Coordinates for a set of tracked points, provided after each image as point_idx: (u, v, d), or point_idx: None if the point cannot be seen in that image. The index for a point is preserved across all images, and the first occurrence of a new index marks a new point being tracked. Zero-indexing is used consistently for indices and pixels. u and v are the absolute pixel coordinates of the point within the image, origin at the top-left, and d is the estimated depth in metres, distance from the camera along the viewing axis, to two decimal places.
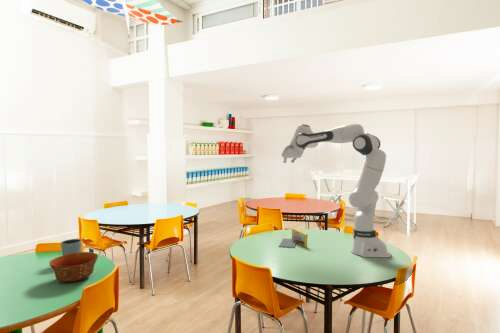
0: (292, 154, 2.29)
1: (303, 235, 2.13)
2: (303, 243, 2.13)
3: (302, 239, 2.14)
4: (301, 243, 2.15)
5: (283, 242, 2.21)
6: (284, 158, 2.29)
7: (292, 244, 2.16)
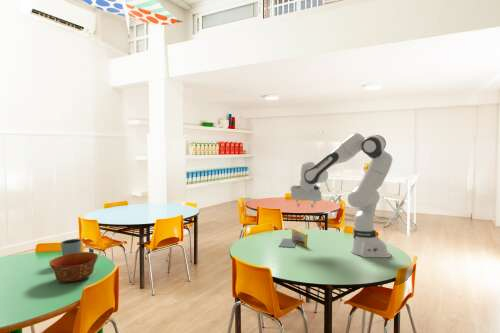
0: (302, 195, 2.16)
1: (303, 235, 2.13)
2: (303, 243, 2.13)
3: (302, 239, 2.14)
4: (301, 243, 2.15)
5: (283, 242, 2.21)
6: (296, 201, 2.19)
7: (292, 244, 2.16)
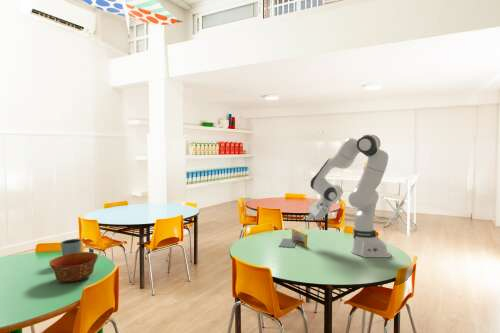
0: (313, 208, 2.18)
1: (303, 235, 2.13)
2: (303, 243, 2.13)
3: (302, 239, 2.14)
4: (301, 243, 2.15)
5: (283, 242, 2.21)
6: (310, 215, 2.19)
7: (292, 244, 2.16)
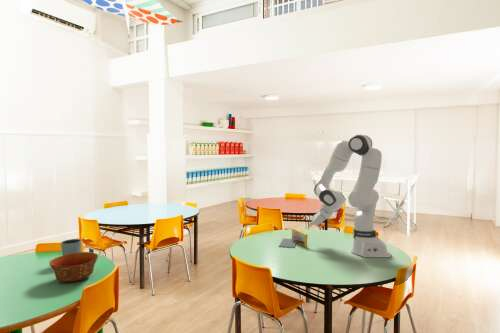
0: (316, 215, 2.18)
1: (303, 235, 2.13)
2: (303, 243, 2.13)
3: (302, 239, 2.14)
4: (301, 243, 2.15)
5: (283, 242, 2.21)
6: None
7: (292, 244, 2.16)
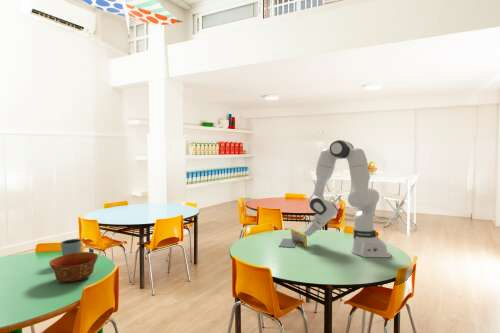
0: (309, 225, 2.19)
1: (302, 235, 2.12)
2: (303, 243, 2.13)
3: (301, 239, 2.13)
4: (301, 243, 2.15)
5: (283, 242, 2.21)
6: None
7: (292, 244, 2.16)
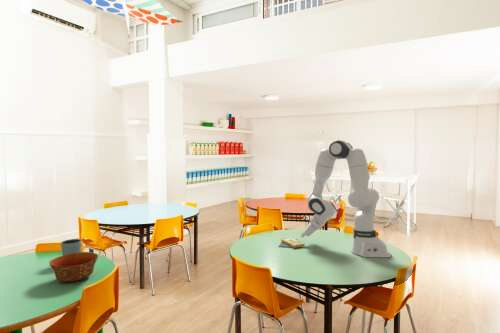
0: (307, 226, 2.19)
1: None
2: None
3: None
4: None
5: None
6: None
7: None
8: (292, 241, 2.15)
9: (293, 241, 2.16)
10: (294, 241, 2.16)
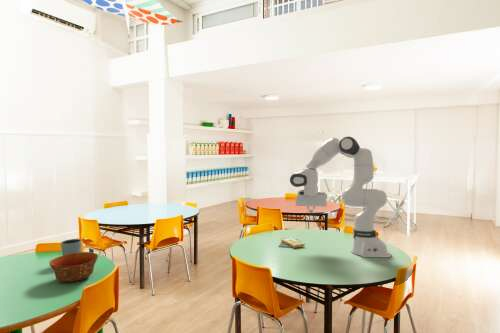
0: None
1: None
2: None
3: None
4: None
5: None
6: (314, 208, 2.15)
7: None
8: (292, 241, 2.15)
9: (293, 241, 2.16)
10: (294, 241, 2.16)
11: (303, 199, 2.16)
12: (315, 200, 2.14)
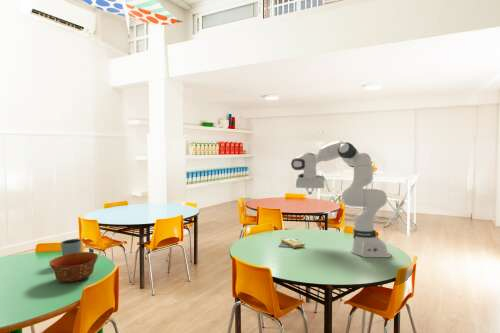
0: None
1: None
2: None
3: None
4: None
5: None
6: (313, 189, 2.36)
7: None
8: (292, 241, 2.15)
9: (293, 241, 2.16)
10: (294, 241, 2.16)
11: (303, 181, 2.36)
12: (314, 182, 2.34)
